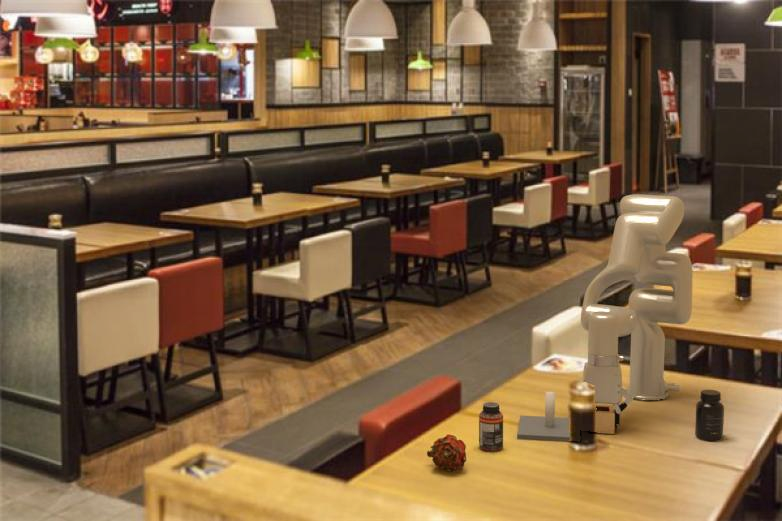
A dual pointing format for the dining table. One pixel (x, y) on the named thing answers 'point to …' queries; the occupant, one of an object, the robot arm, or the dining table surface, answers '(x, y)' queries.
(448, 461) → the dragon fruit
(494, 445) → the supplement bottle
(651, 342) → the robot arm
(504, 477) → the dining table surface
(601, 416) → the collar
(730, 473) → the dining table surface
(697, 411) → the supplement bottle
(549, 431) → the shaft block
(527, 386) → the dining table surface
